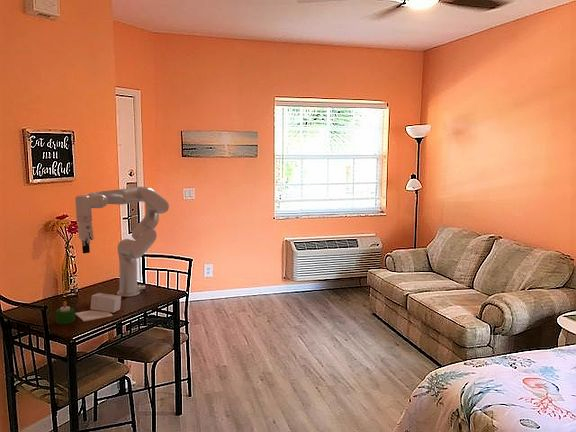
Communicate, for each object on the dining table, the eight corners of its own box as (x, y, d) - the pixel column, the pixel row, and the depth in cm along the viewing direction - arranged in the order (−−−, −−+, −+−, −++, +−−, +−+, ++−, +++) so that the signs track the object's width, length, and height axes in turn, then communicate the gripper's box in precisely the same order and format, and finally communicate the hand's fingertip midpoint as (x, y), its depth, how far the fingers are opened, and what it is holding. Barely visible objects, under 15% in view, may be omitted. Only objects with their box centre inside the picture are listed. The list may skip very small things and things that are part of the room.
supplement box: (90, 309, 253) (113, 313, 251) (91, 295, 252) (114, 298, 250) (97, 306, 260) (120, 309, 258) (99, 292, 260) (121, 295, 258)
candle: (52, 321, 237) (51, 301, 236) (67, 317, 244) (67, 297, 243) (63, 325, 233) (62, 304, 232) (78, 320, 240) (78, 300, 239)
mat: (103, 309, 258) (103, 308, 258) (112, 316, 248) (112, 314, 248) (75, 314, 249) (75, 313, 249) (83, 321, 239) (83, 320, 239)
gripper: (96, 219, 258) (98, 254, 261) (86, 216, 270) (88, 249, 272) (81, 221, 254) (83, 256, 256) (72, 217, 265) (74, 251, 268)
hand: (86, 252), depth 264 cm, fingers closed
